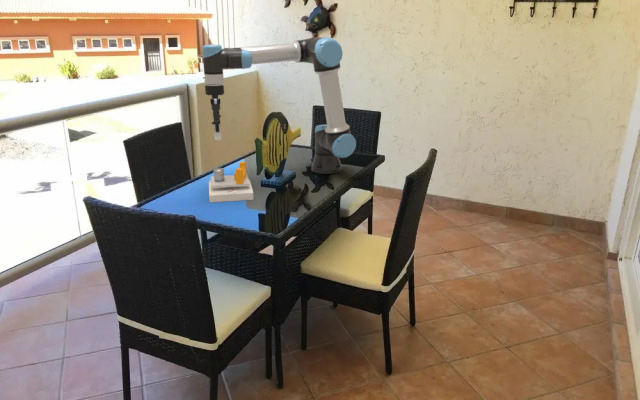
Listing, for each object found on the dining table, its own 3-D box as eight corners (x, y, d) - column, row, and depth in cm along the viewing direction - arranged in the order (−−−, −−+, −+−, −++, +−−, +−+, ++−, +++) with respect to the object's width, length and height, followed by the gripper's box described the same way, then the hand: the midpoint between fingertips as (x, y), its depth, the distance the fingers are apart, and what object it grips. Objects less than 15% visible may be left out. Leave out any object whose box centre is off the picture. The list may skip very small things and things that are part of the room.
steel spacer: (224, 178, 215) (223, 167, 213) (224, 181, 211) (224, 170, 209) (214, 179, 214) (213, 168, 212) (214, 182, 210) (213, 171, 208)
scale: (249, 185, 224) (249, 173, 223) (253, 199, 206) (253, 187, 204) (209, 187, 221) (208, 175, 219) (209, 202, 202) (208, 189, 201)
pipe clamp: (236, 176, 219) (235, 162, 217) (246, 176, 219) (245, 162, 217) (232, 184, 208) (231, 169, 206) (242, 184, 208) (241, 169, 206)
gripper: (204, 81, 210) (208, 130, 217) (204, 88, 187) (208, 143, 194) (222, 81, 211) (225, 130, 218) (224, 88, 188) (227, 142, 195)
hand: (217, 136), depth 206 cm, fingers open, 13 cm apart
